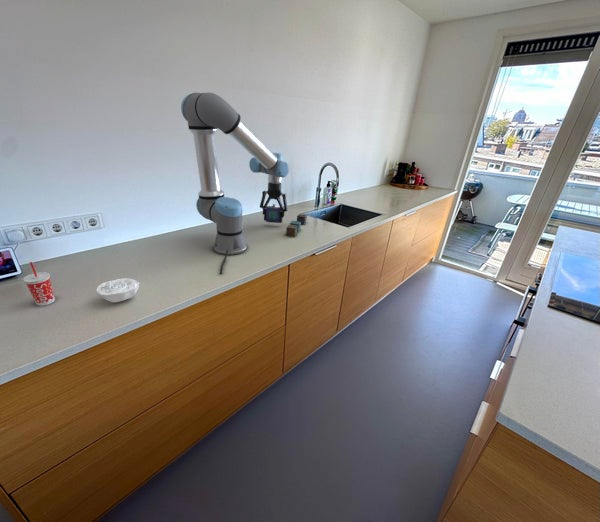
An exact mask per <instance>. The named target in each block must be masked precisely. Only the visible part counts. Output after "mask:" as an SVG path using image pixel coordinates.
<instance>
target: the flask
mask: <svg viewBox="0 0 600 522" xmlns="http://www.w3.org/2000/svg"><path fill="white" fill-rule="evenodd" d="M280 212H281V209H280V206H276V204H275V203H272V205H267V206H266V220H265V222H266V223H274V224H275V223H276V224H281V223H280Z"/></svg>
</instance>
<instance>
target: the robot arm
mask: <svg viewBox="0 0 600 522" xmlns="http://www.w3.org/2000/svg"><path fill="white" fill-rule="evenodd" d="M180 110H181V114H182V117H183V118H184V119H185V121H186V122H187V126H188V130H189V131H190V133H192V135H193V143H194V149H195V155H196V163H197V169H198V176H199V181H200V182H199V185H200V190H199V192H198V198H197V199H196V203H195V204H196V205H195V207H196V211H197V212H198V214H199V215H201V216H202V217H203V218H204V219H206V220H209V221H210V222H213V223H214V224H216V225H215V226H216V236H215V239H214V243H213V251H214V252H215V253H216V254H219V255H224V258H223V261H222V264H221V266H220V271H219V274H220V275H222V274H223V269H224V265H225V263H226V260H227V256H234V255H239V254H243V253H245V252H246V251H247V248H248V247H247V245H248V244H247V242H246V239H245V235H244V234H243V205H242V203H241V201H240V200H239V199H236V198H233V197H229V196H228V197H227V196H225V192H224V190H222V189H221V184H220V175H219V166H218V165H219V164H218V156H217V149H216V147H217V146H216V138H215V133H216V132H217V131H218V130H220V131H221V132H222V133H223V134H225V135H228V136H230V137H231V138H232V139H233V140H235V142H237V144H239V145H240V146H241V147H242V148H243V149H244V150H245V151H247V152H248V154H249V155H251V156H252V157H251V158H250V160H249V162H248V163H249V169H250V171H251V172H252V173H256V174H259V173H261V174H266V175H268V177H267V181H268V182H267V190H263V191H262V196H261V200H260V204H259V208H260V209H262V215H263V221H265V222H266V206H269V204H270V202H271V200H275V201H276V202H277V204H278V207H280V209H281V212H280V223H279V224H282V223H283V219H284V218H285V213H286V212H288V210H289V208H288V207H289V206H288V202H287V193H283V192H282V181H283V178H286V177H287V176H288V174H289V172H290V165H289V164H288V163H287V162H286V161H284V156H283V154H282V153H280V152H272V151H271V150H270V148H268V146H267V145H266V144H265V143H264V142H263V141H262V140H261V139H260V138H259V137H258V136H257V135H256V134H255V133H254V132H253V131H252V130H251V129H250V128H249V127H248V125H246V123H245V122H244V121H243V120H242V116H241V115H240V113H238V112H237V110H236V109H235V108H234V107H233V106H232V105H231V104H230V103H228V102H227V101H226V100H225V99H224V98H223V97H221V96H220V95H218V94H215V93H214V92H192V93H189V94H187V95H185V97H184V98H183V99H182V101H181V106H180ZM267 196H268V197H267ZM266 197H267V199H266ZM281 197H282V198H281Z"/></svg>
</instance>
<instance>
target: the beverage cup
mask: <svg viewBox="0 0 600 522" xmlns="http://www.w3.org/2000/svg"><path fill="white" fill-rule="evenodd" d="M29 264H30V267H31V269H32V271H33V273H31V274H28V275H26V276H24V277H23V279H22V282H24V284H26V286H27V289H28V290H29V293H30V295H31V296H32V298H33V301H34V302H35V304H36V305H37V306H39V307H41V306H47V305H51V304H52V303H54V302H55V301H56V297H55V294H54V289H53V287H52V282H51V279H50V277H51V275H50V273H49V272H45V271H41V272H36V269H35V266H34V264H33V262H32V261H30V262H29Z"/></svg>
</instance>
